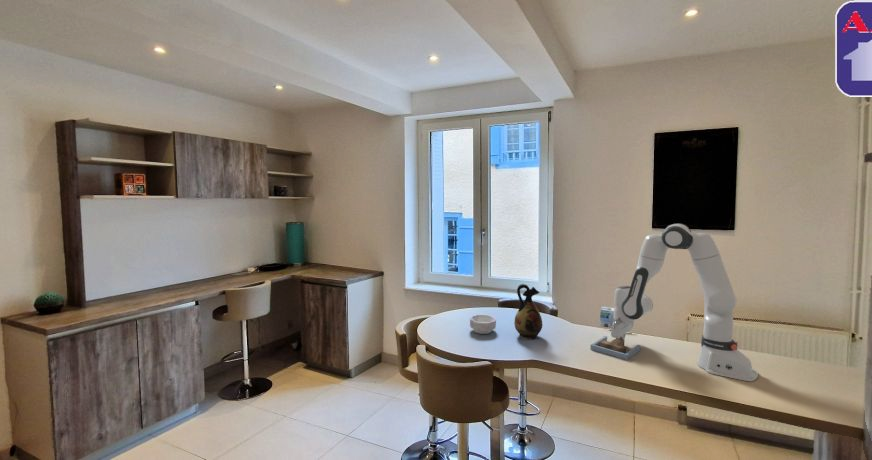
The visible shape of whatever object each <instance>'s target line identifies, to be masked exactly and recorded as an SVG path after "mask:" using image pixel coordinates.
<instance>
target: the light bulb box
mask: <svg viewBox="0 0 872 460" xmlns="http://www.w3.org/2000/svg"><path fill="white" fill-rule="evenodd" d="M614 308H615V307H609V306H601V308H600V310H599V313H600V315H599V327H601V328H602V327H603V328H609V329H612V324H613V322H615V319H614Z"/></svg>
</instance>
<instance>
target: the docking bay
mask: <svg viewBox="0 0 872 460" xmlns="http://www.w3.org/2000/svg"><path fill="white" fill-rule="evenodd" d="M601 340H605V341H608V336H606V335H605V336H602V337H601V338H600V339H598V340H596V341H595V342H593V343H591V344H590V351H594V352H598V353H601V354H605V355H608V356H611V357H615V358H618V359H622V360H625V361H628V360H629V359H630V358H632V357H633V356H634V355H636V354H637V353H638V352H640V351H641V345H640V344H637V345H636V346H634V347H633V348H630V350H628V351H626V354H624V353H621V352H617V351H614V350H610V349H607V348H603V347H600V346H599V342H600V341H601Z"/></svg>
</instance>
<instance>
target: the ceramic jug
mask: <svg viewBox="0 0 872 460" xmlns="http://www.w3.org/2000/svg"><path fill="white" fill-rule="evenodd" d="M521 289H525V290H524V292H523V293H522V295H521ZM516 294H517V297H518V300H519V305H518V306H519V307H518V310H517V312H516V314H515V317H514V323H513V324H514V328H515V330H516V331H517V333H518V334H519V335H518V336H519V337H520V338H522V339H525V340H536V339H537V338H538V335H539V334H540V332H541V331H542V329H543V319H542V316H541V313H540V311H539V309H538V308H537V306H536V305H535V303H534V302H533V299H532V298H533V296H535V295H538V294H540V291H538V290H537V289H536V287H534V286H532V287H531V288H530V287H529V286H528V285H527V284H525V283H522V284H519V285H518V286H517V289H516ZM522 296H524V297H525V299H524V300H523V297H522Z"/></svg>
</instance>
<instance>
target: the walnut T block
mask: <svg viewBox="0 0 872 460" xmlns="http://www.w3.org/2000/svg"><path fill="white" fill-rule="evenodd" d="M599 346H600V347H603V348H607V349H610V350H614V351H617V352H621V353H624V354H626V353H627V346H626V345H625V340H623V339H620V338H614V339H613V340H611V341H609V340H607V341H605V340H601V341H600V342H599Z"/></svg>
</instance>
